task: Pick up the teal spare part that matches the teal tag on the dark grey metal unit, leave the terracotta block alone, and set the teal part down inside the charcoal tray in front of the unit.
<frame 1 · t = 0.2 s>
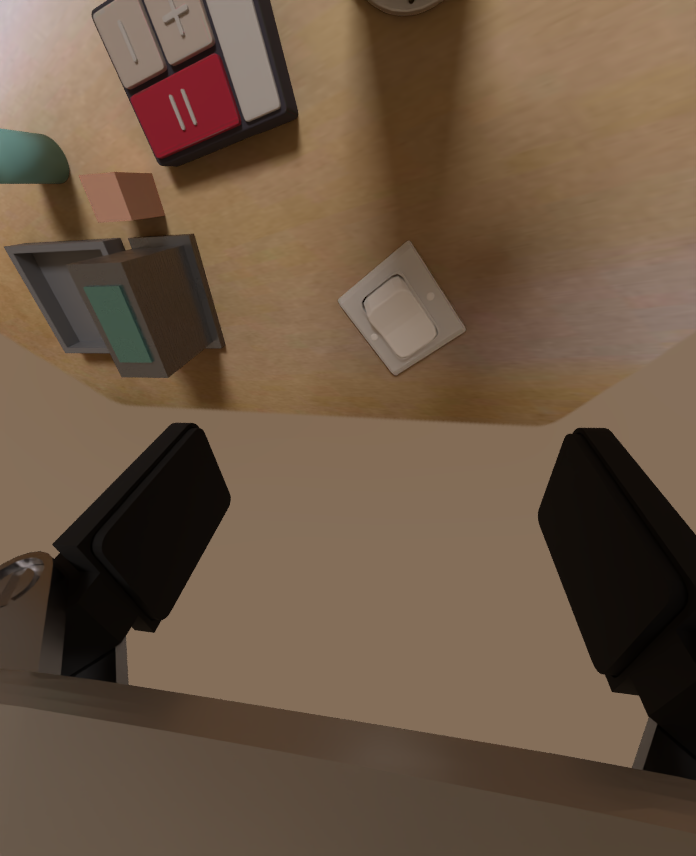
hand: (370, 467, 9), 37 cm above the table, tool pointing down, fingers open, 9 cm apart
parts tray: (98, 297, 47), on the table
light switch: (401, 312, 43), on the table
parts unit: (183, 295, 45), on the table
calculator: (210, 73, 32), on the table
terracotta block: (143, 196, 39), on the table
teal spare part: (49, 159, 38), on the table
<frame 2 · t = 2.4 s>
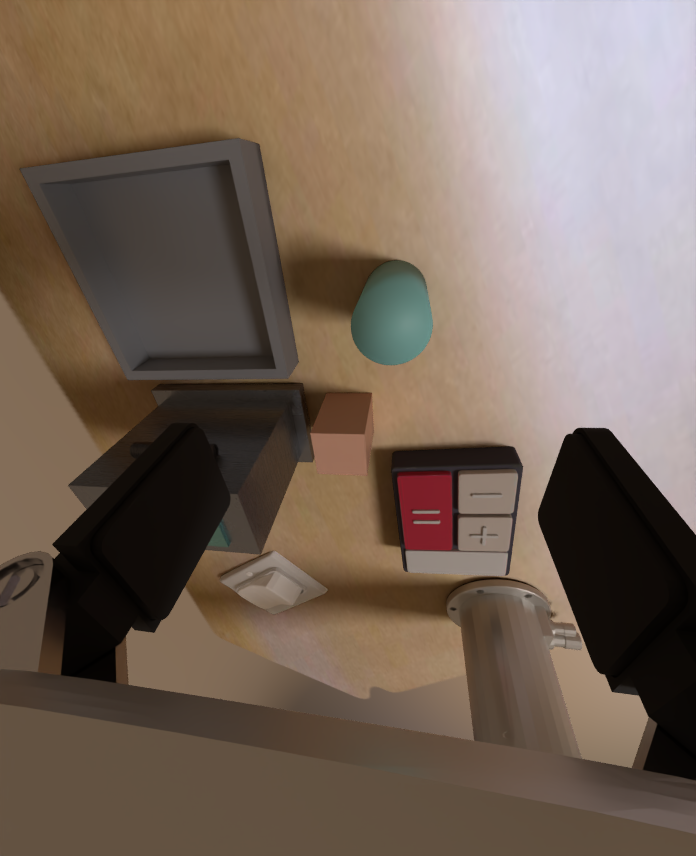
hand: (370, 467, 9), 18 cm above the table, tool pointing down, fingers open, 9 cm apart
parts tray: (193, 277, 25), on the table
light switch: (275, 577, 50), on the table
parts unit: (239, 420, 33), on the table
calculator: (451, 500, 36), on the table
terracotta block: (350, 412, 30), on the table
teal spare part: (395, 294, 24), on the table
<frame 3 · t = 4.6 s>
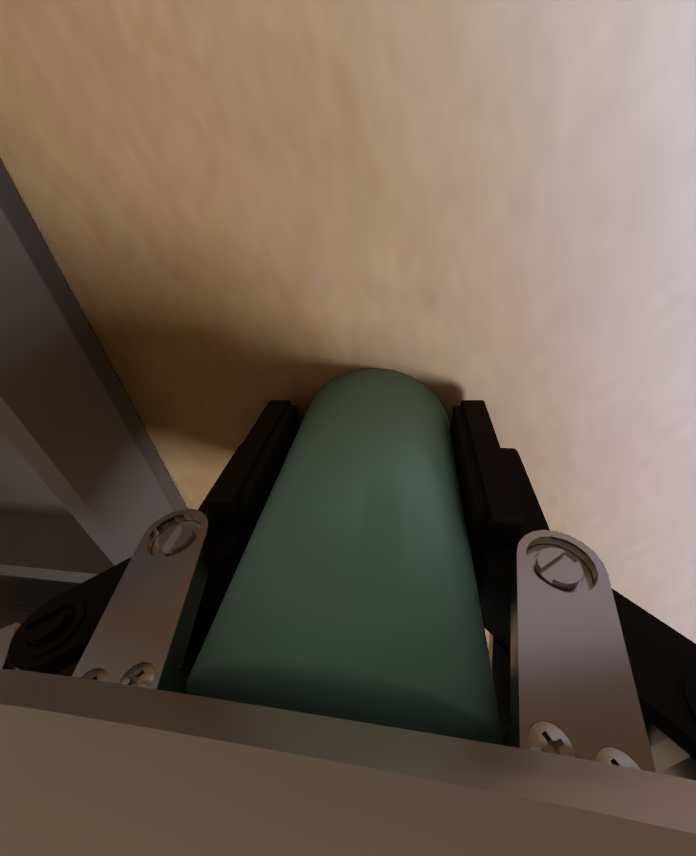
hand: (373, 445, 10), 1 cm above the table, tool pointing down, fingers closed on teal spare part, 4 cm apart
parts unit: (120, 584, 19), on the table
teal spare part: (375, 433, 10), on the table, touching gripper
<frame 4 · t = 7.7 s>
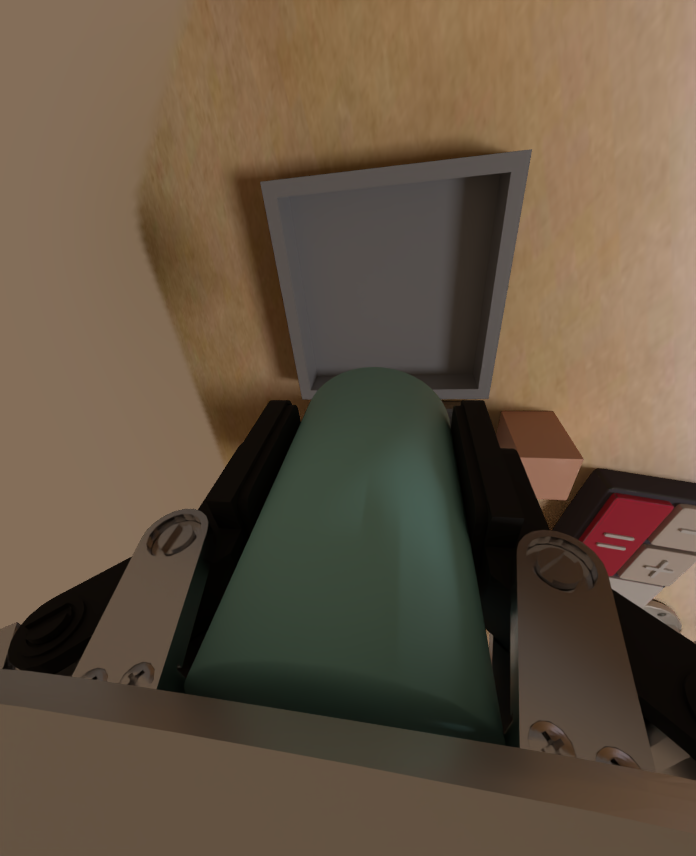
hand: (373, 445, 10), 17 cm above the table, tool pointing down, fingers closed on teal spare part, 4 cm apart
parts tray: (391, 292, 24), on the table
calculator: (610, 524, 35), on the table
terracotta block: (521, 430, 29), on the table
teal spare part: (375, 432, 10), point 17 cm above the table, touching gripper
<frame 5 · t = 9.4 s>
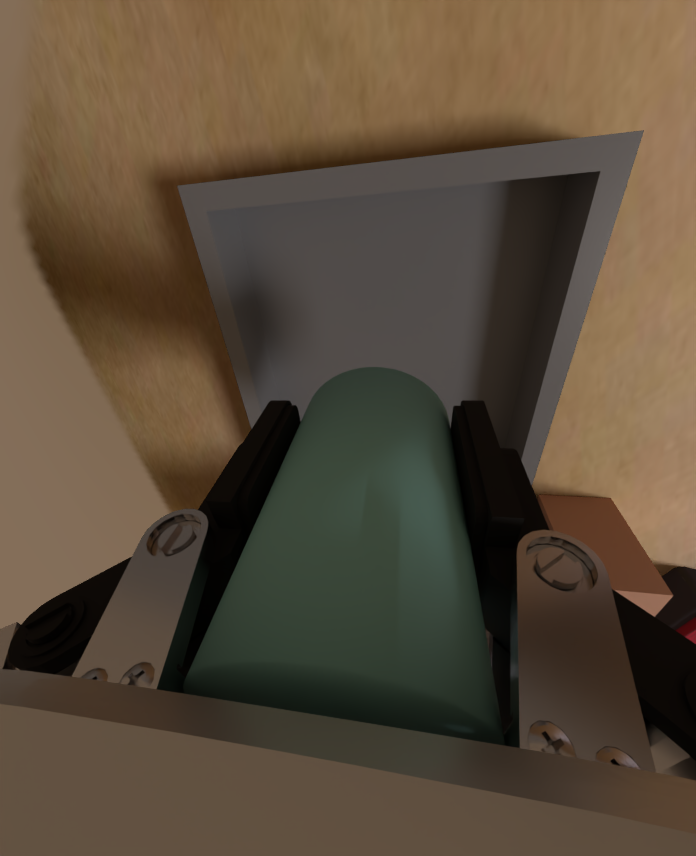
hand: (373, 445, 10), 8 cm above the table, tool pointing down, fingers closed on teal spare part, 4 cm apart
parts tray: (390, 344, 17), on the table
calculator: (671, 623, 27), on the table
terracotta block: (564, 517, 22), on the table
teal spare part: (375, 432, 10), point 8 cm above the table, touching gripper
when the fingers open (3 cm above the table, at t = 10.8 s): teal spare part drops 2 cm, resting on parts tray.
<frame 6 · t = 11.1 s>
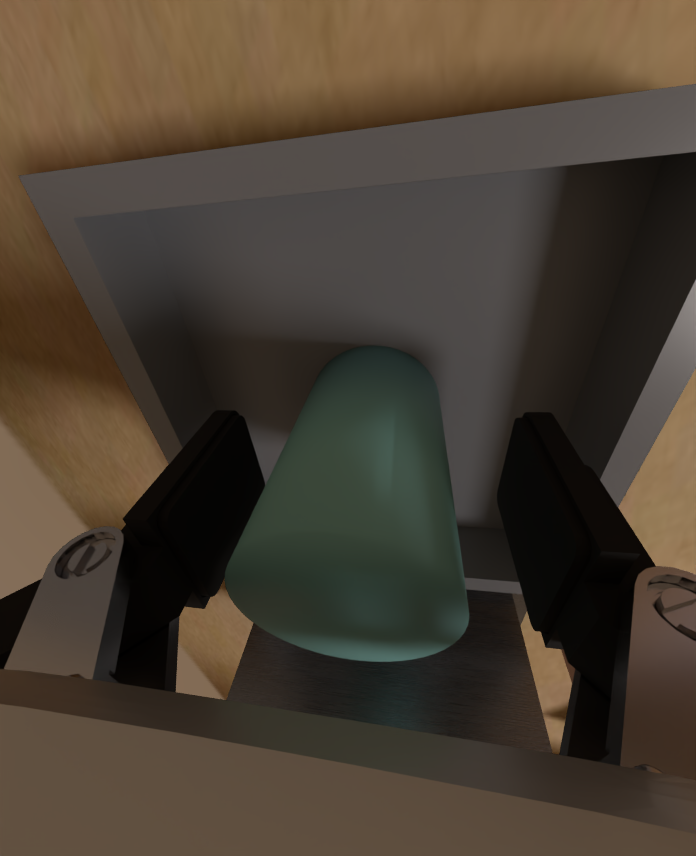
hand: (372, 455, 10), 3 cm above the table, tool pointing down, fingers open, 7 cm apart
parts tray: (380, 396, 12), on the table
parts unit: (387, 589, 20), on the table
teal spare part: (374, 405, 12), point 1 cm above the table, touching parts tray
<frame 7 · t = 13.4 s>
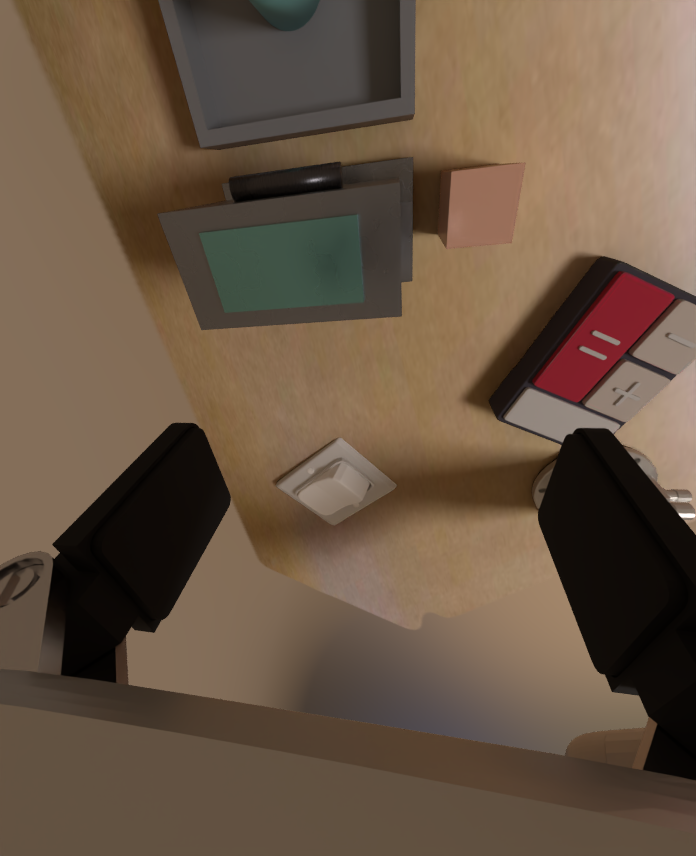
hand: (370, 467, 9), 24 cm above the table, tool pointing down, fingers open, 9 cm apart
light switch: (336, 479, 46), on the table
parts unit: (324, 232, 27), on the table
calculator: (583, 357, 32), on the table
terracotta block: (466, 201, 25), on the table
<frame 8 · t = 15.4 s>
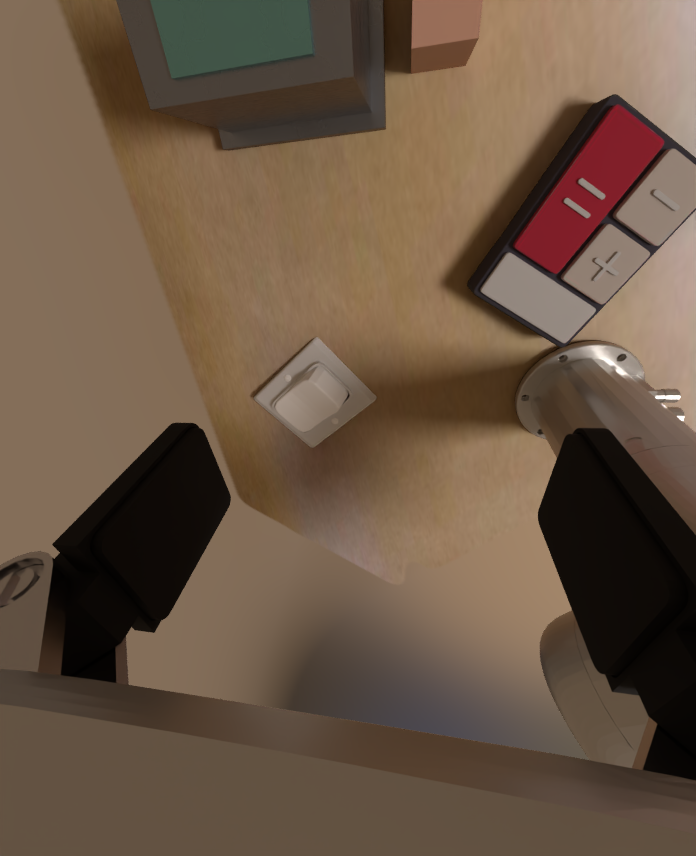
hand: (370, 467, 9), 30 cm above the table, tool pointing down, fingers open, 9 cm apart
light switch: (315, 393, 45), on the table
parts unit: (296, 74, 27), on the table
calculator: (567, 238, 31), on the table
terracotta block: (439, 30, 24), on the table
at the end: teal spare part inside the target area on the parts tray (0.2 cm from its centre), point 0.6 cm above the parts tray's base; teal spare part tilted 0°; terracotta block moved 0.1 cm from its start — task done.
